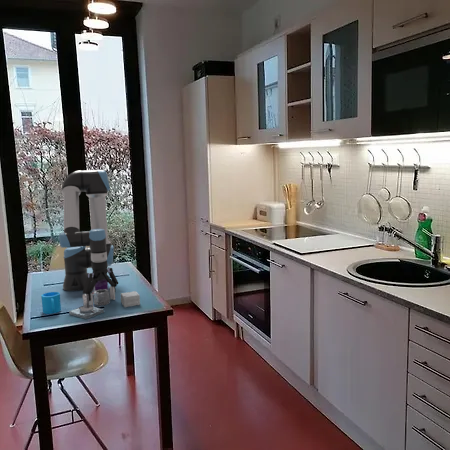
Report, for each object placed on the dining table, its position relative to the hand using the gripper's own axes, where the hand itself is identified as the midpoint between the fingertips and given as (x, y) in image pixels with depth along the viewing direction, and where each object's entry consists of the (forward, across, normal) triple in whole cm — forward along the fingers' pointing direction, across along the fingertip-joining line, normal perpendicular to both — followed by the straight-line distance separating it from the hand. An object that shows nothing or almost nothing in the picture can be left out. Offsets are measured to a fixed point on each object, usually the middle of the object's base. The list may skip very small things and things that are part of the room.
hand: (102, 302), depth 223 cm
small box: (+1, +7, -13) cm, 15 cm away
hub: (0, 0, 0) cm, 0 cm away
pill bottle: (0, +9, +12) cm, 15 cm away
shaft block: (0, -14, -6) cm, 15 cm away
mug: (0, -21, +10) cm, 23 cm away
